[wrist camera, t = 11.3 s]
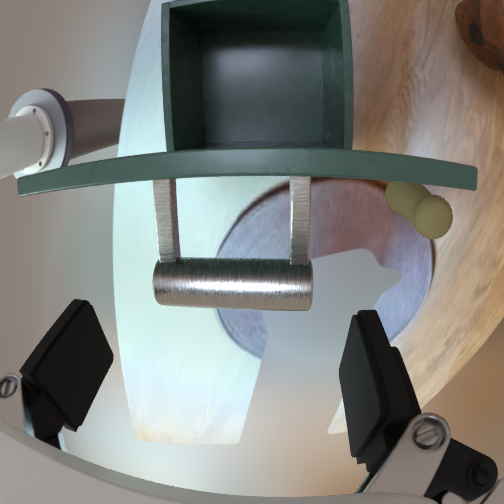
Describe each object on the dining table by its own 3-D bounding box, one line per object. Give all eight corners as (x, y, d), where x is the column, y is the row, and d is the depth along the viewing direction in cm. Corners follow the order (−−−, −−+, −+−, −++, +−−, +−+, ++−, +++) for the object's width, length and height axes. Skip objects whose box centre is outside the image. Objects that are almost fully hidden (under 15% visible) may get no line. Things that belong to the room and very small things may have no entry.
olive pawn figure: (409, 220, 38) (442, 254, 29) (378, 202, 38) (407, 234, 28) (428, 185, 36) (467, 211, 26) (397, 165, 35) (434, 187, 25)
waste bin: (196, 32, 29) (161, 3, 18) (325, 29, 28) (347, -5, 16) (201, 148, 37) (167, 167, 25) (327, 147, 35) (351, 165, 24)
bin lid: (16, 177, 8) (41, 316, 10) (478, 167, 7) (449, 333, 9) (166, 163, 25) (169, 227, 27) (352, 162, 23) (350, 229, 25)
